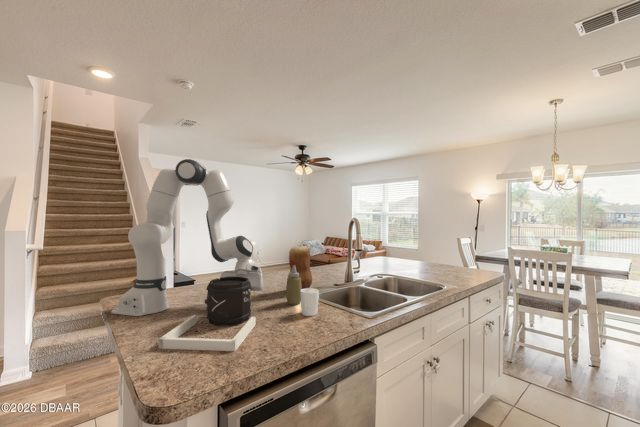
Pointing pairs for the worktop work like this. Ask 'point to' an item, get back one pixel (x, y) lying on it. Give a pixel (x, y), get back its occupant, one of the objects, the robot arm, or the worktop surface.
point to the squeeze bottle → (293, 287)
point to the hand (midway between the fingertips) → (236, 298)
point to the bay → (174, 342)
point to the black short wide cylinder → (228, 301)
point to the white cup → (309, 301)
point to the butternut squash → (301, 264)
